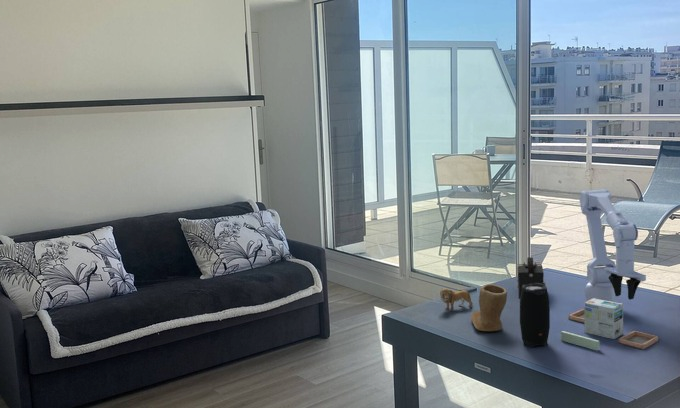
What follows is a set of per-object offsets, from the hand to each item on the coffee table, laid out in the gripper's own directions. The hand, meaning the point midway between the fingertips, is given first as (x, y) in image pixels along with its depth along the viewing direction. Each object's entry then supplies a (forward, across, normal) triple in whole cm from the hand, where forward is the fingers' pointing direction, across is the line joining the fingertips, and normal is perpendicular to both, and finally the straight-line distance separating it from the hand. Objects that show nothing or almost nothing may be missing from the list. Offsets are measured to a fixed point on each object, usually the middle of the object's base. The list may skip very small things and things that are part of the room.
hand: (624, 297), depth 236 cm
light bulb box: (+10, -1, +13) cm, 16 cm away
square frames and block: (+9, -1, +13) cm, 16 cm away
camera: (+10, +43, -3) cm, 45 cm away
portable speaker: (+10, +7, +37) cm, 39 cm away
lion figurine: (+10, +51, +31) cm, 60 cm away
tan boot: (+10, +29, +36) cm, 47 cm away
